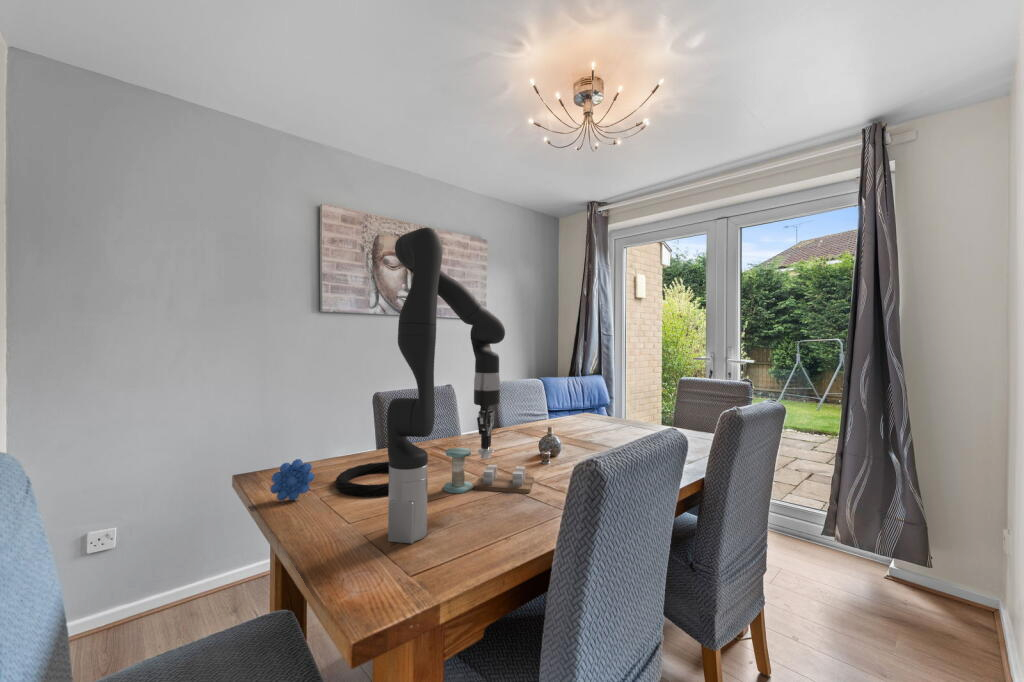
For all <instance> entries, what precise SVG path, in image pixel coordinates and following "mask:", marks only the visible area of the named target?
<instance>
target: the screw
mask: <svg viewBox="0 0 1024 682" xmlns="http://www.w3.org/2000/svg"><path fill="white" fill-rule="evenodd" d="M487 425H489V424H487ZM484 430H485V429H484ZM477 453H478V454H480V458H481V459H483V460H488V459H490V458H491V456H492V454H493V453H495V450H494V449H493V448H490V447H489V448H488V449H482V448H481V447H480V448H478V450H477Z"/></svg>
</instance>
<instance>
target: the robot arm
mask: <svg viewBox="0 0 1024 682" xmlns="http://www.w3.org/2000/svg"><path fill="white" fill-rule="evenodd" d="M443 251H444V249H443V243H442V239H441V237H440V235H439V233H438V232H437V231H436V230H434V229H433V228H431V227H422V228H418V229H416V230H412V231H410V232H406V233H404V234H402V235H401V236H399V237H398V238H397V240H396V241H395V245H394V253H395V256H396V258H397V260H398V261H399V262H400V263H401V264H402V266H404V267H405V268H406V269H407V270H408V271H409V272H411V273H412V279H411V280H412V281H411V284H410V288H409V291H408V292H407V293H408V294H407V295H406V298H405V300H404V303H403V304H402V307H401V309H400V313H399V316H398V325H397V326H398V327H397V329H398V330H397V345H398V347H399V351H400V353H401V354H402V356H403V359H404V360H405V362H406V363H407V365H408V366H409V368H410V370H411V372H412V375H413V377H414V379H415V382H416V386H417V393H418V397H417V398H416V397H415V398H414V397H413V398H411V397H395V398H393V399H392V400H391V401H390V402H389V404H388V407H387V411H386V435H387V436H386V437H387V456H388V462H389V472H388V483H389V495H388V503H387V504H388V510H387V511H388V512H387V513H388V516H387V518H388V519H387V520H388V523H387V527H388V528H387V542H391V543H403V544H414V542H417V541H420V540H422V539H424V538H425V537H426V536H427V534H428V470H429V469H428V464H429V463H428V462H429V461H428V460H429V457H428V456H429V455H428V452H427V451H426V450H425V449H423V448H421V447H420V446H417V445H415V444H414V443H412V442H411V441H410V440H409V439H408V438H407V437H412V438H415V437H416V438H426V437H429V436H430V435H432V434H433V433H432V432H433V431H434V427H435V421H436V420H435V419H436V413H435V411H436V409H435V407H436V404H435V402H436V401H435V355H436V343H437V341H436V340H437V308H438V296H439V297H440V299H442V300H443V301H444V303H445V304H446V305H448V306H449V308H450V309H451V310H452V311H453V312H454V313H455V314H456V316H457V317H458V318H459V319H460V320H461V321H462V322H463V323H465V325H469V326H470V325H471V329H470V342H471V347H472V350H473V355H474V359H475V362H474V363H475V364H474V378H473V404H474V405H476V406H480V409H479V411H478V416H477V418H476V420H477V422H476V423H477V429H478V435H480V437H481V438H480V449H481V448H482V449H488V448H490V447H491V446H492V433H493V430H494V426H495V419H496V418H495V417H496V411H495V410H494V407H493V406H498V405H500V398H501V397H500V394H501V393H500V392H501V388H500V387H501V386H500V385H501V378H500V356H499V354H498V353H496V352H494V351H493V350H492V348H491V345H494V344H495V345H496V344H500V343H501V342H502V341H503V340H504V339H505V335H506V330H505V326H504V324H503V322H502V321H501V320H500V319H499V318H498V316H495V314H494V313H492V312H491V311H489V309H487V308H485V307H484V306H483V305H482V304H481V303H480V302H479V301H478V299H477V298H476V297H475V295H474V294H473V293H472V292H471V291H470V290H469V289H468V288H467V287H466V286H465V285H463V284H462V283H460V282H459V281H457V280H456V279H454V278H453V277H451V276H450V275H448V274H446V273H445V272H444V271H443V270H441V267H442V260H443ZM487 424H489V425H487ZM484 429H485V430H484Z"/></svg>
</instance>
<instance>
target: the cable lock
mask: <svg viewBox="0 0 1024 682" xmlns="http://www.w3.org/2000/svg"><path fill="white" fill-rule="evenodd" d="M379 473H389V461H383V462H373V463H372V462H370V463H366V464H359V465H357V466H356V465H355V466H353V467H350V468H347V469H346V470H344V471H342V472H340V473H339V475H338V476H336V477H335V478H336V479H335V481H334V484H335V487H336V489H337V490H338V491H339V492H341V493H343V494H346V495H350V496H355V497H363V498H364V497H368V498H370V497H374V498H375V497H381V496H389V482H387V483H386V482H385V483H380V484H362V483H361V484H360V483H354V482H351V481H350V480H352V479H354V478H357V477H361V476H365V475H369V474H379Z"/></svg>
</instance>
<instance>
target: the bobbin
mask: <svg viewBox="0 0 1024 682" xmlns="http://www.w3.org/2000/svg"><path fill="white" fill-rule="evenodd" d="M471 455H472V450H471V449H470V448H468V447H452V448H448V449H446V450H445V456H446V457H450V458H451V459H452V460H451V481H448V482H446V483H444V485H443V490H444V492H447V493H449V494H466V493H469V492H470V491H472V490H473V483H472V482H470V481H466V480H465V478H466V477H465V469H466V464H465V463H466V462H465V461H466V459H465V458H466V457H470V456H471Z"/></svg>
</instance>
